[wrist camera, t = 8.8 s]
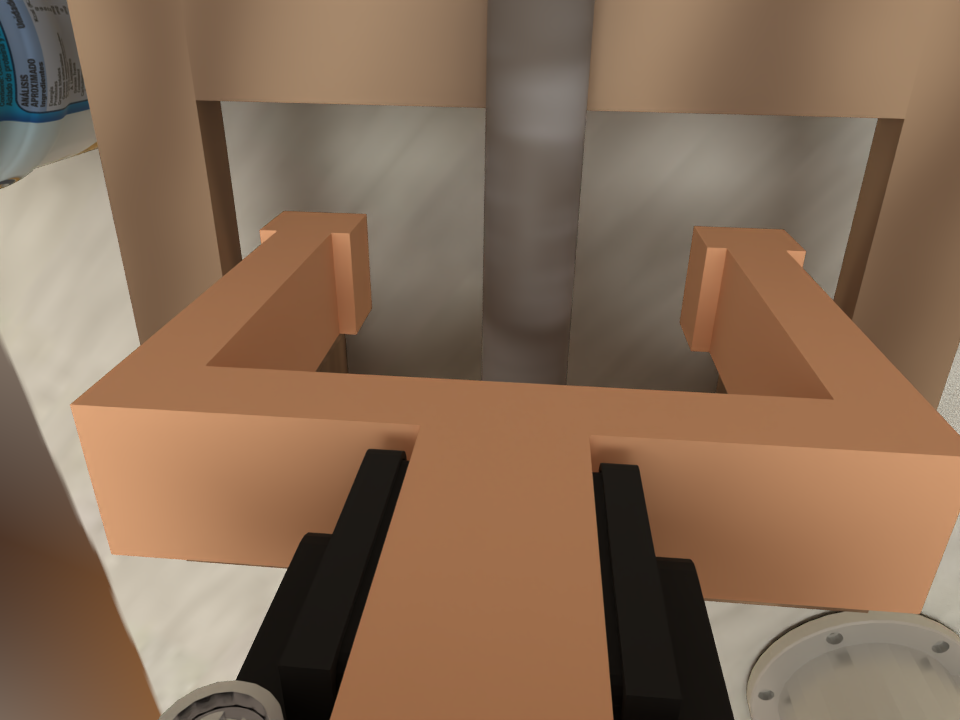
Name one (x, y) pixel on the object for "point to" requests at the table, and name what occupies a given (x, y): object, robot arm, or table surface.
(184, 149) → the shelf
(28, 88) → the beverage bottle
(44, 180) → the table surface
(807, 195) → the table surface
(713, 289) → the tabbed u-shaped bracket
